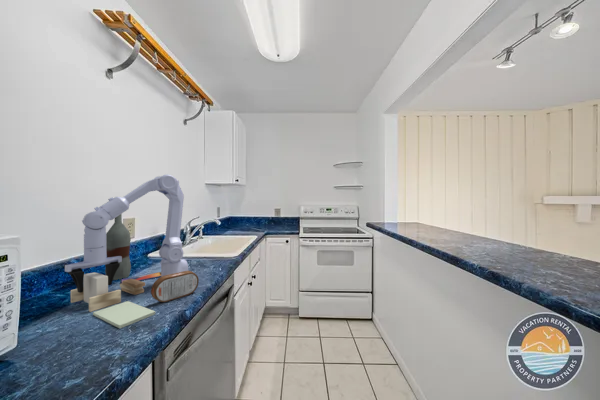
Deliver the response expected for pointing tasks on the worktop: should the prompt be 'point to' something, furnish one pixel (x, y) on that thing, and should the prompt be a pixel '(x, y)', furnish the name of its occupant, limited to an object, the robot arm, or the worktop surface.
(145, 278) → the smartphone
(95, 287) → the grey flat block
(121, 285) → the offcuts
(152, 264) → the worktop surface
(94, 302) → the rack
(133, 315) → the mat
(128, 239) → the bottle
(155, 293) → the tin
